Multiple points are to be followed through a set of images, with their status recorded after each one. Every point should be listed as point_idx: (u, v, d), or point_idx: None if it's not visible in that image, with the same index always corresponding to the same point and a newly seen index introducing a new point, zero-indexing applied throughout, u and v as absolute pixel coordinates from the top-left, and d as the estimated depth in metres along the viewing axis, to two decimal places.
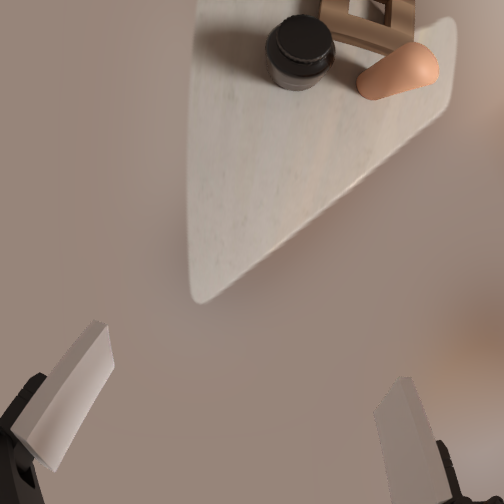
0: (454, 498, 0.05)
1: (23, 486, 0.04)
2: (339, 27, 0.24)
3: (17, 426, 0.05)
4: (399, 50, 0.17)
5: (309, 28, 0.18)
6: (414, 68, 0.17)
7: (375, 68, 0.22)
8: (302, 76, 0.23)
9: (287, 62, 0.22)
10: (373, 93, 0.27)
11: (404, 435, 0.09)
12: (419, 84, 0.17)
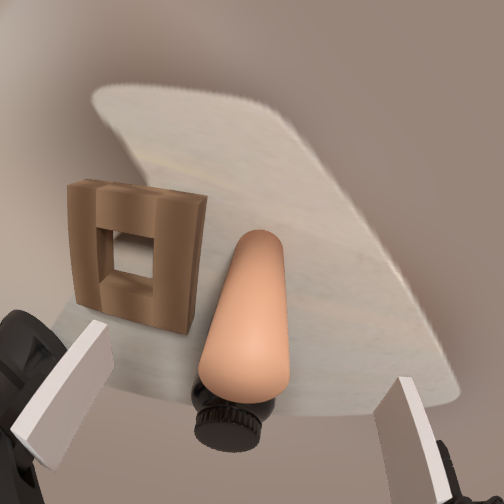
0: (454, 498, 0.05)
1: (23, 486, 0.04)
2: (178, 311, 0.24)
3: (17, 426, 0.05)
4: None
5: (214, 434, 0.17)
6: (258, 385, 0.12)
7: None
8: (272, 408, 0.20)
9: None
10: None
11: (404, 435, 0.09)
12: None
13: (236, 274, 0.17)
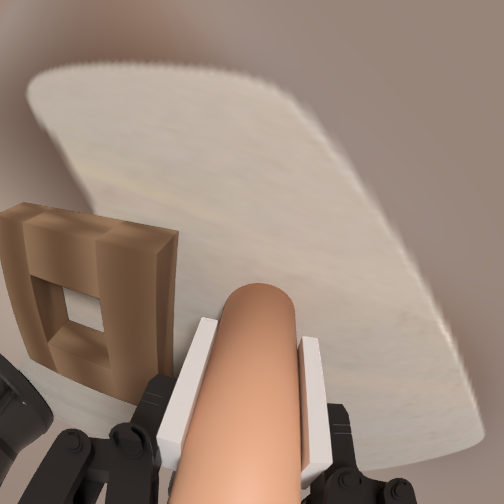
0: None
1: None
2: None
3: (164, 431, 0.07)
4: None
5: None
6: None
7: None
8: None
9: None
10: None
11: (300, 392, 0.11)
12: None
13: (214, 399, 0.09)
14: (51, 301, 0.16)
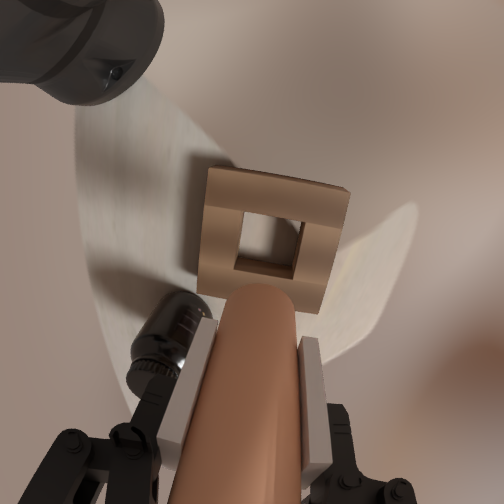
0: None
1: None
2: (221, 290, 0.27)
3: (164, 431, 0.07)
4: None
5: None
6: None
7: None
8: None
9: None
10: None
11: (299, 392, 0.11)
12: None
13: (214, 399, 0.09)
14: None
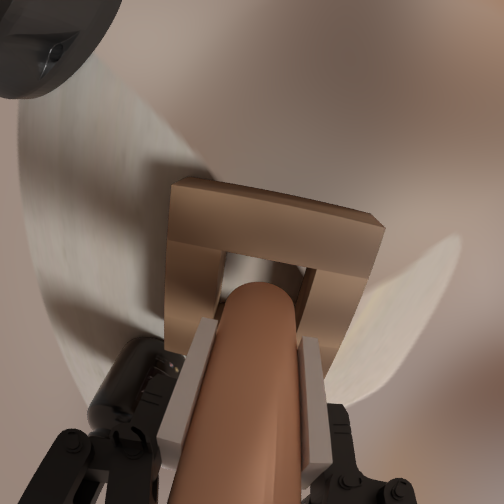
0: None
1: None
2: None
3: (164, 431, 0.07)
4: None
5: None
6: None
7: None
8: None
9: None
10: None
11: (299, 392, 0.11)
12: None
13: (215, 396, 0.09)
14: None
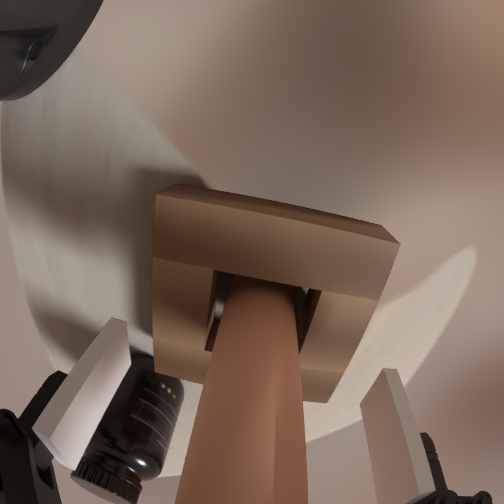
0: (439, 492, 0.06)
1: (42, 487, 0.04)
2: (189, 373, 0.17)
3: (39, 425, 0.06)
4: None
5: (102, 491, 0.11)
6: None
7: None
8: None
9: None
10: None
11: (388, 426, 0.09)
12: None
13: (226, 360, 0.10)
14: None
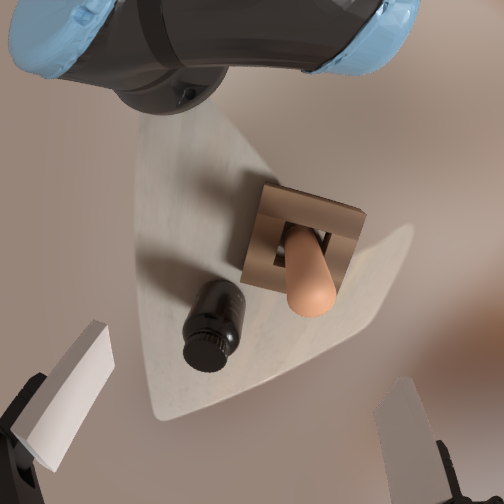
0: (454, 498, 0.05)
1: (23, 486, 0.04)
2: (261, 281, 0.35)
3: (17, 426, 0.05)
4: (298, 313, 0.24)
5: (208, 352, 0.28)
6: (318, 303, 0.23)
7: None
8: None
9: None
10: None
11: (405, 435, 0.09)
12: None
13: (297, 247, 0.28)
14: None
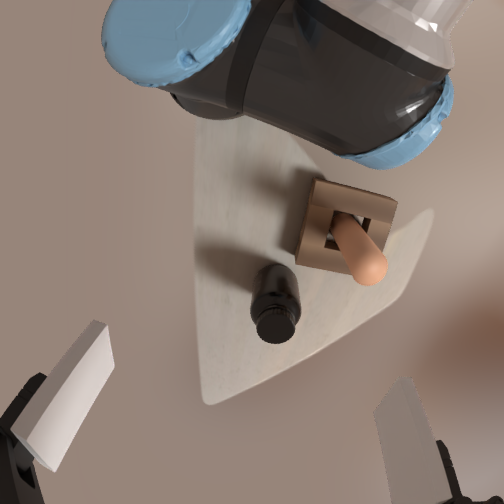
0: (454, 498, 0.05)
1: (23, 486, 0.04)
2: (313, 262, 0.40)
3: (17, 426, 0.05)
4: None
5: (279, 324, 0.34)
6: (374, 273, 0.28)
7: None
8: None
9: None
10: None
11: (405, 435, 0.09)
12: (386, 268, 0.28)
13: (349, 231, 0.33)
14: None
